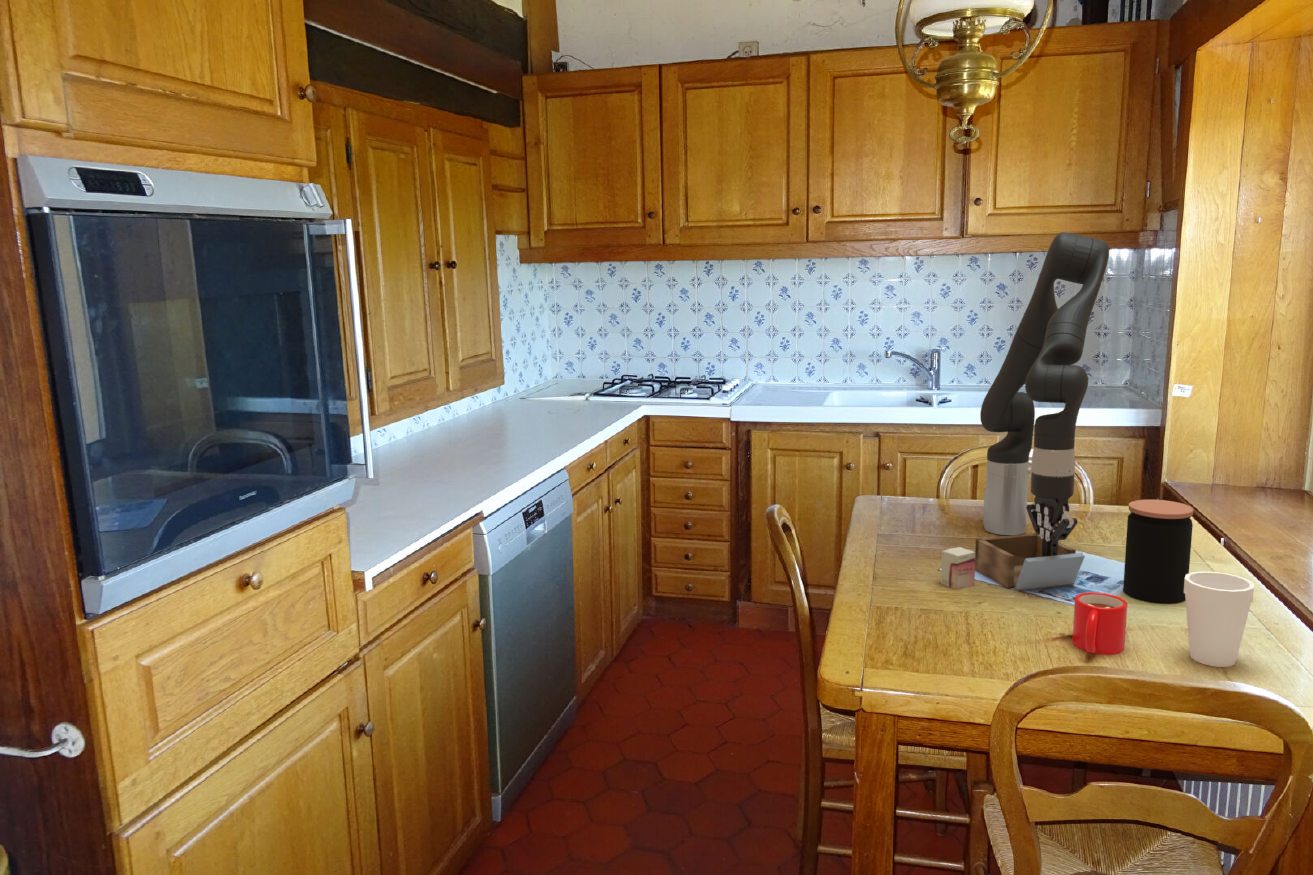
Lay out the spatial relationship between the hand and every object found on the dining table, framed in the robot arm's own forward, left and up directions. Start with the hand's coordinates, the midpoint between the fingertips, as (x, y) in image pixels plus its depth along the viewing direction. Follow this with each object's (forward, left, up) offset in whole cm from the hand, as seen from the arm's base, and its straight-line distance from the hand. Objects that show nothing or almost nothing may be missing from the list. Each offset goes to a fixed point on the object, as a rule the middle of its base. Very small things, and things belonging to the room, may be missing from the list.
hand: (1049, 558), depth 175 cm
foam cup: (+33, +7, -7) cm, 34 cm away
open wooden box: (-8, 0, -7) cm, 11 cm away
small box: (-7, -15, -7) cm, 18 cm away
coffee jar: (+8, +17, -7) cm, 20 cm away
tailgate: (-1, 0, -6) cm, 6 cm away
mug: (+25, -8, -7) cm, 27 cm away
